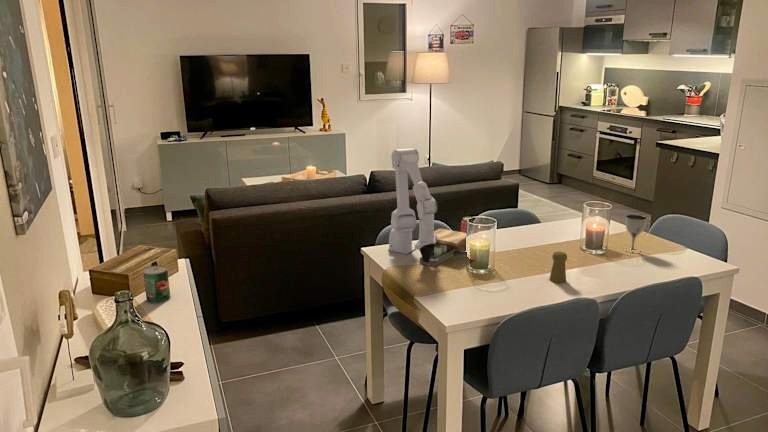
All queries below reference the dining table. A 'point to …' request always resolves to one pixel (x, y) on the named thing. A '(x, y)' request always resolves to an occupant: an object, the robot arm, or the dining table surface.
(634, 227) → the wine glass
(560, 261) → the cork
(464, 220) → the soda can
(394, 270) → the dining table surface
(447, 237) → the wooden box
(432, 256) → the tray
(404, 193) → the robot arm
